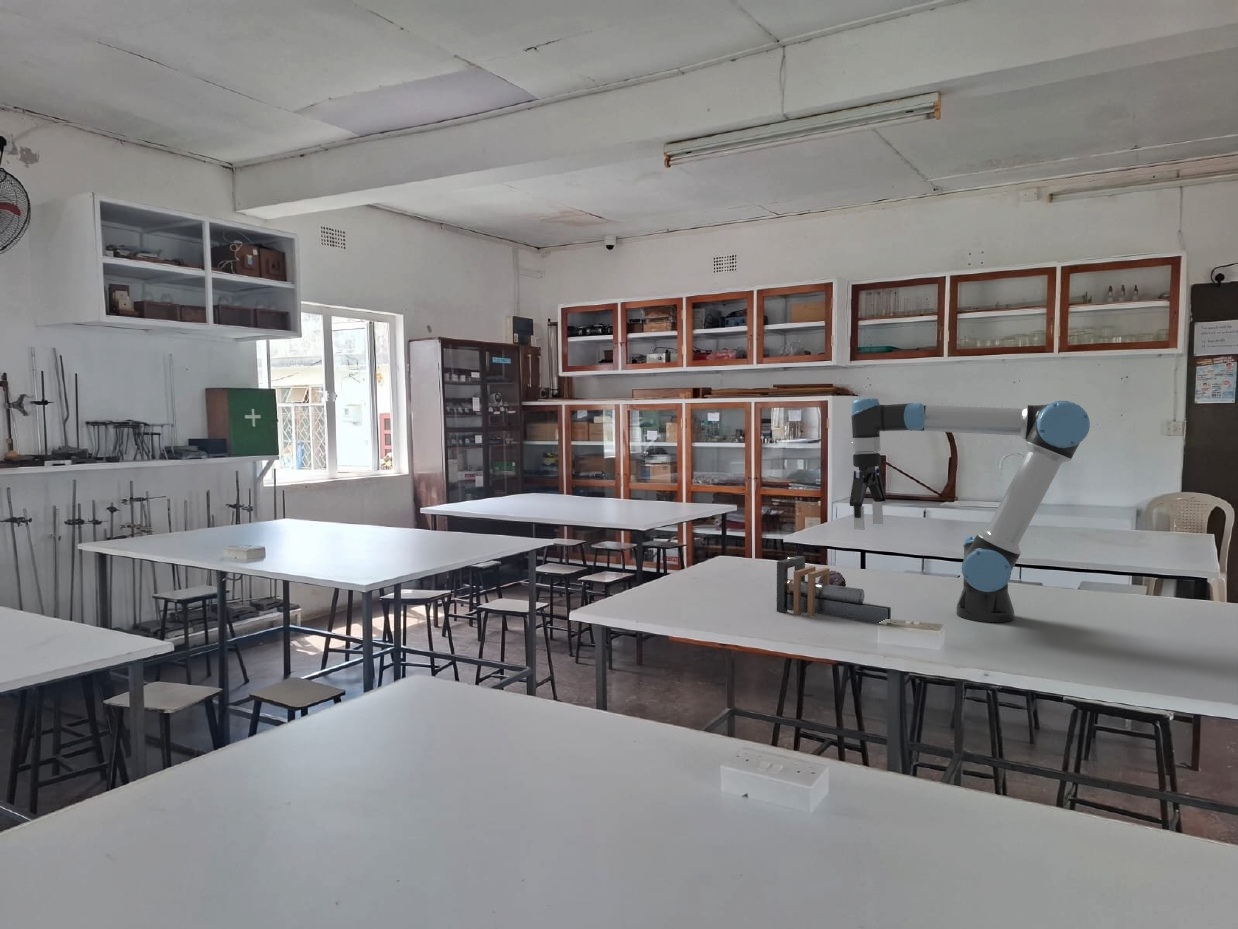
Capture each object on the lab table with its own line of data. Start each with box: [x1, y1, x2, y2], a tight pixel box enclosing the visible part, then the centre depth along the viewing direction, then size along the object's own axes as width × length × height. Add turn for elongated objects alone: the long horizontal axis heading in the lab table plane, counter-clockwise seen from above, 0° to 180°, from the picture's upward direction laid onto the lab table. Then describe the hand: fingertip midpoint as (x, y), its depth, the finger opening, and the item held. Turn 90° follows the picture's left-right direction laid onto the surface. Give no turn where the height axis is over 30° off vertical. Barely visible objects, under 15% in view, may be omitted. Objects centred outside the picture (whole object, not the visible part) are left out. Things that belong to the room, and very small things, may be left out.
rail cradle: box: [788, 594, 892, 624], centre depth 230 cm, size 32×3×4 cm, turn 50°
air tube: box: [788, 578, 865, 605], centre depth 232 cm, size 24×4×4 cm, turn 50°
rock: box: [817, 570, 847, 587], centre depth 250 cm, size 12×9×10 cm
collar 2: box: [807, 567, 831, 618], centre depth 233 cm, size 2×11×12 cm, turn 140°
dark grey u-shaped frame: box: [776, 555, 806, 614], centre depth 239 cm, size 2×13×15 cm, turn 140°
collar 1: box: [793, 565, 817, 615], centre depth 236 cm, size 2×11×12 cm, turn 140°
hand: (868, 526), depth 227 cm, fingers open, 13 cm apart
